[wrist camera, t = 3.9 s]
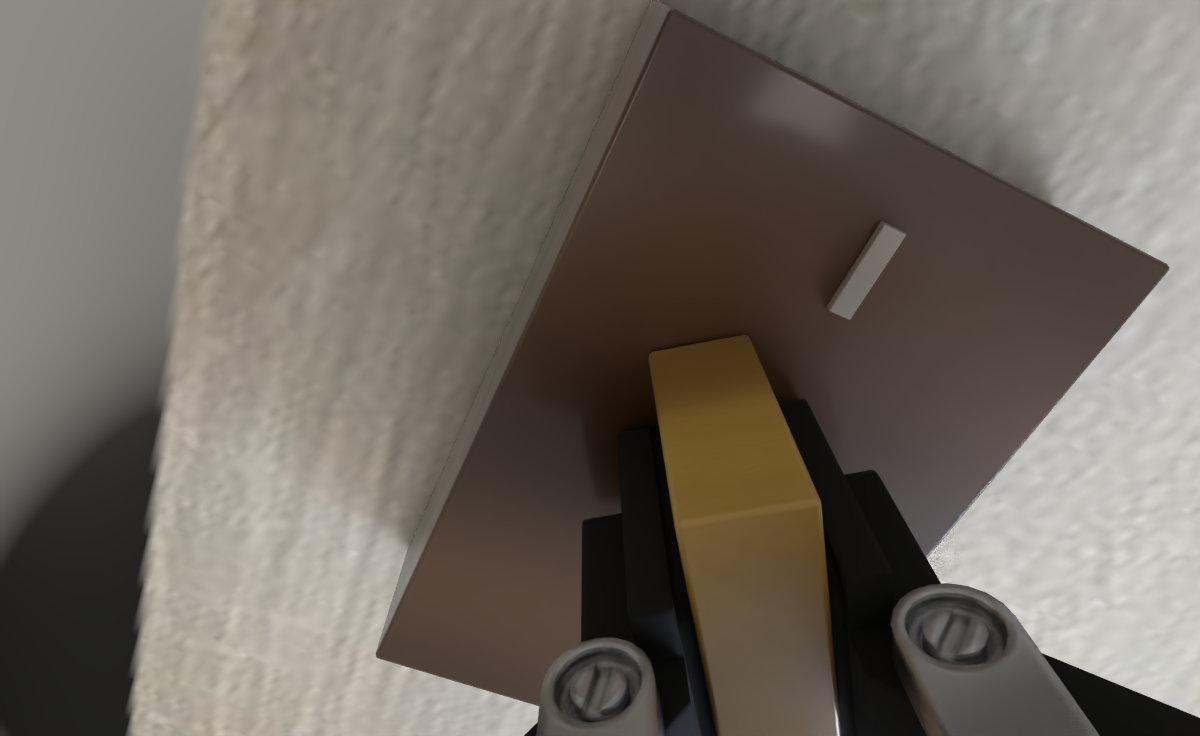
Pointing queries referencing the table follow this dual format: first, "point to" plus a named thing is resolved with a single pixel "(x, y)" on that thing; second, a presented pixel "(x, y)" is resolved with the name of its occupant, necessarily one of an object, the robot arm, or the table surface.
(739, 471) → the lock knob
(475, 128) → the table surface
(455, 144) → the table surface
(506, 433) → the lock plate
